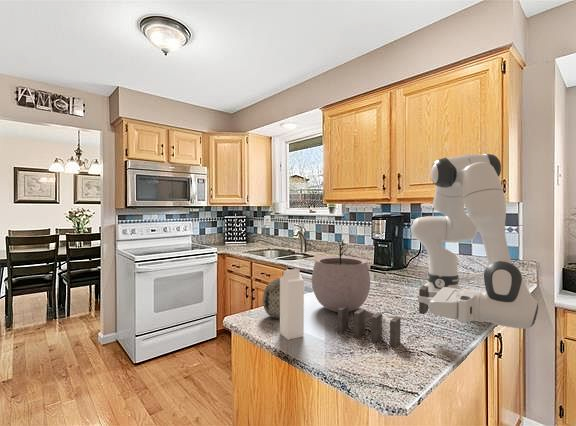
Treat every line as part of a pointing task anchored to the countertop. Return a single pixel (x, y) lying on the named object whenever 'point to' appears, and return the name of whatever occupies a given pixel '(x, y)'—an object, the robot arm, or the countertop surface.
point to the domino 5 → (422, 306)
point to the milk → (292, 304)
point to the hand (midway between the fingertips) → (421, 295)
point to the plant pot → (341, 281)
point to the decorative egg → (272, 298)
